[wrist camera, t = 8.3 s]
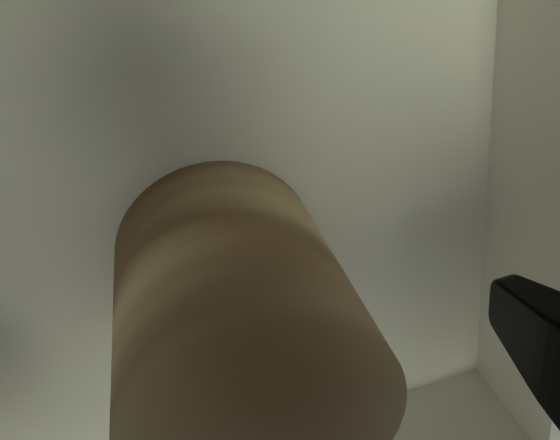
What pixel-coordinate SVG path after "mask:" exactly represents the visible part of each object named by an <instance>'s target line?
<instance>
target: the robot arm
mask: <svg viewBox="0 0 560 440" xmlns="http://www.w3.org/2000/svg"><path fill="white" fill-rule="evenodd" d="M488 317H489V321H490V324H491V326H492V328H493V330H494V331H495V333H496V335H497V336H498V338H499V340H500V341H501V343H502V345H503V346H504V348H505V350H506V351H507V353H508V355H509V356H510V358H511V359H512V361H513V363H514V364H515V366H516V368H517V369H518V371H519V373H520V374H521V376H522V378H523V379H524V381H525V382H526V384H527V386H528V387H529V389H530V391H531V392H532V394H533V395H534V397H535V398H536V400H537V401H538V403H539V404H540V405H541V407H542V408H543V410H544V411H545V412H546V414H547V415H548V416H549V418H550V419H551V420H552V422H553V423H554V424H555V426H556V427H557V428H558V429H559V431H560V291H558V290H556V289H553V288H551V287H548V286H546V285H543V284H540V283H538V282H535V281H533V280H530V279H527V278H525V277H522V276H520V275H516V274H511V275H507V276H504V277H501V278H497V279H495V280H493V281H492V283H491V285H490V295H489V309H488Z"/></svg>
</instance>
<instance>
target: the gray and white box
mask: <svg viewBox="0 0 560 440" xmlns="http://www.w3.org/2000/svg"><path fill="white" fill-rule="evenodd" d="M210 161H235V162H241V163H246V164H250V165H254V166H257V167H260V168H262V169H264V170H267V171H269V172H271V173H273V174H274V175H276V176H277V177H279V178H280V179H282V180H283V181H284V182H285V183H286V184H288V185H289V186H290V187H291V188H292V189H293V191H294V192H295V193H296V194H297V195H298V197H299V198H300V200H301V202H302V203H303V205H304V207H305V208H306V210H307V211H308V213H309V215H310V216H311V218H312V220H313V221H314V223H315V225H316V226H317V228H318V230H319V231H320V233H321V234H322V236H323V238H324V239H325V241H326V243H327V244H328V246H329V248H330V249H331V251H332V253H333V254H334V256H335V257H336V259H337V261H338V262H339V264H340V266H341V267H342V269H343V271H344V272H345V274H346V276H347V277H348V279H349V280H350V282H351V284H352V285H353V287H354V289H355V290H356V292H357V294H358V295H359V297H360V299H361V300H362V302H363V303H364V305H365V307H366V308H367V310H368V312H369V313H370V315H371V317H372V318H373V320H374V322H375V323H376V325H377V326H378V328H379V330H380V331H381V333H382V335H383V336H384V338H385V340H386V341H387V343H388V345H389V346H390V348H391V350H392V351H393V353H394V354H395V356H396V358H397V359H398V361H399V363H400V364H401V366H402V369H403V372H404V375H405V378H406V385H407V404H406V408H405V413H404V417H403V419H402V422H401V425H400V427H399V430H398V431H397V433H396V435H395V437H394V439H393V440H560V431H559V429H558V428H557V427H556V426H555V424H554V423H553V422H552V420H551V419H550V418H549V416H548V415H547V414H546V412H545V411H544V410H543V408H542V407H541V405H540V404H539V403H538V401H537V400H536V398H535V397H534V395H533V394H532V392H531V391H530V389H529V387H528V386H527V384H526V382H525V381H524V379H523V378H522V376H521V374H520V373H519V371H518V369H517V368H516V366H515V364H514V363H513V361H512V359H511V358H510V356H509V355H508V353H507V351H506V350H505V348H504V346H503V345H502V343H501V341H500V340H499V338H498V336H497V335H496V333H495V331H494V330H493V328H492V326H491V324H490V321H489V317H488V309H489V295H490V285H491V283H492V281H493V280H495V279H497V278H501V277H504V276H507V275H511V274H516V275H520V276H522V277H525V278H527V279H530V280H533V281H535V282H538V283H540V284H543V285H546V286H548V287H551V288H553V289H556V290H558V291H560V0H0V440H109V428H110V393H111V357H112V322H113V287H114V252H115V241H116V235H117V232H118V229H119V226H120V223H121V221H122V219H123V217H124V215H125V213H126V211H127V210H128V209H129V207H130V206H131V204H132V203H133V202H134V200H135V199H136V198H137V197H138V196H139V195H140V194H141V193H142V192H143V191H144V190H145V189H146V188H148V187H149V186H150V185H151V184H153V183H154V182H155V181H157V180H159V179H160V178H162V177H164V176H165V175H167V174H169V173H171V172H173V171H176V170H178V169H180V168H183V167H187V166H190V165H193V164H198V163H203V162H210Z"/></svg>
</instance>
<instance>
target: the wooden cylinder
mask: <svg viewBox="0 0 560 440" xmlns="http://www.w3.org/2000/svg"><path fill="white" fill-rule="evenodd" d="M406 404H407V385H406V378H405V375H404V372H403V369H402V366H401V364H400V363H399V361H398V359H397V358H396V356H395V354H394V353H393V351H392V350H391V348H390V346H389V345H388V343H387V341H386V340H385V338H384V336H383V335H382V333H381V331H380V330H379V328H378V326H377V325H376V323H375V322H374V320H373V318H372V317H371V315H370V313H369V312H368V310H367V308H366V307H365V305H364V303H363V302H362V300H361V299H360V297H359V295H358V294H357V292H356V290H355V289H354V287H353V285H352V284H351V282H350V280H349V279H348V277H347V276H346V274H345V272H344V271H343V269H342V267H341V266H340V264H339V262H338V261H337V259H336V257H335V256H334V254H333V253H332V251H331V249H330V248H329V246H328V244H327V243H326V241H325V239H324V238H323V236H322V234H321V233H320V231H319V230H318V228H317V226H316V225H315V223H314V221H313V220H312V218H311V216H310V215H309V213H308V211H307V210H306V208H305V207H304V205H303V203H302V202H301V200H300V198H299V197H298V195H297V194H296V193H295V192H294V191H293V189H292V188H291V187H290V186H289V185H288V184H286V183H285V182H284V181H283V180H282V179H280V178H279V177H277V176H276V175H274V174H273V173H271V172H269V171H267V170H264V169H262V168H260V167H257V166H254V165H250V164H246V163H241V162H235V161H210V162H203V163H198V164H193V165H190V166H187V167H183V168H180V169H178V170H176V171H173V172H171V173H169V174H167V175H165V176H164V177H162V178H160V179H159V180H157V181H155V182H154V183H153V184H151V185H150V186H149V187H148V188H146V189H145V190H144V191H143V192H142V193H141V194H140V195H139V196H138V197H137V198H136V199H135V200H134V202H133V203H132V204H131V206H130V207H129V209H128V210H127V211H126V213H125V215H124V217H123V219H122V221H121V223H120V226H119V229H118V232H117V235H116V241H115V252H114V287H113V322H112V357H111V393H110V428H109V440H393V439H394V437H395V435H396V433H397V431H398V430H399V427H400V425H401V422H402V419H403V417H404V413H405V408H406Z"/></svg>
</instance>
